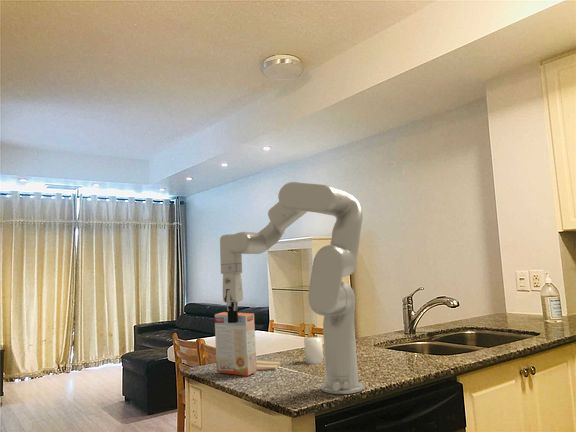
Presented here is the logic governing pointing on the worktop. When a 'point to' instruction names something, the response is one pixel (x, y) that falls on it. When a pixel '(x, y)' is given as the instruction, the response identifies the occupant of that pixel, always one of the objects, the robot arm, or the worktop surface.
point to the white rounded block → (313, 350)
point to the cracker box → (235, 344)
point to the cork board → (268, 364)
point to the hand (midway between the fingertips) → (233, 322)
